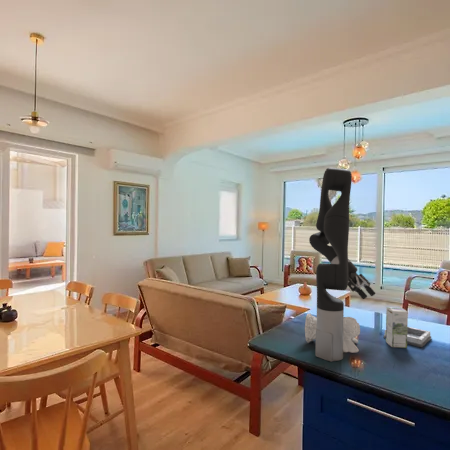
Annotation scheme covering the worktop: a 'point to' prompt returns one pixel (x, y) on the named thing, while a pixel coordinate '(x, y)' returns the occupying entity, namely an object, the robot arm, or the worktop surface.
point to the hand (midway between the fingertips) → (369, 296)
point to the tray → (416, 337)
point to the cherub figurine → (349, 332)
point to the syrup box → (396, 327)
